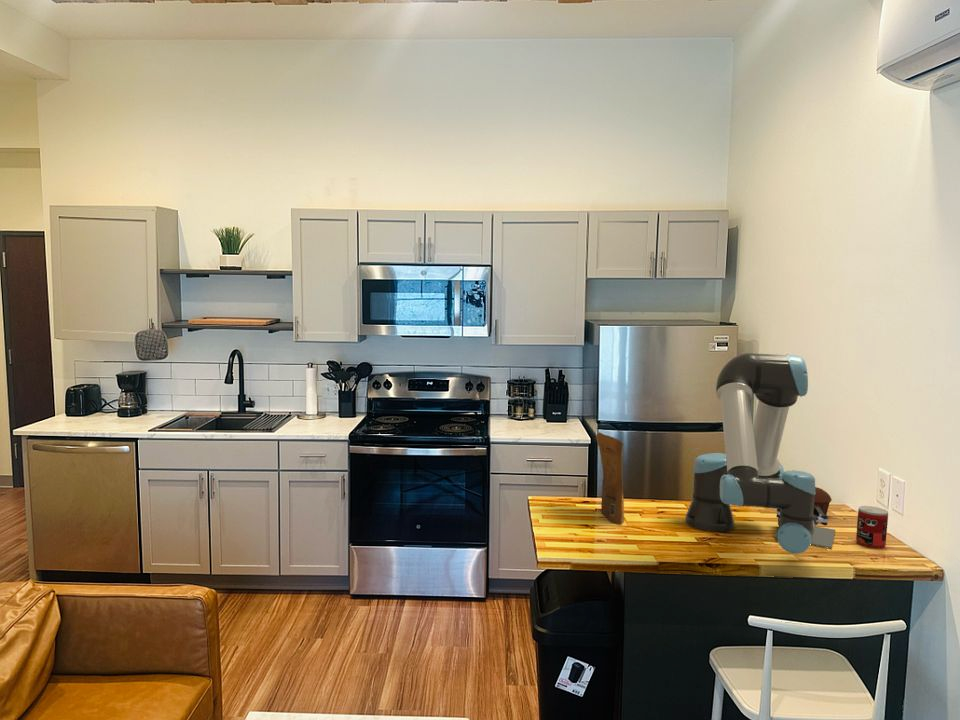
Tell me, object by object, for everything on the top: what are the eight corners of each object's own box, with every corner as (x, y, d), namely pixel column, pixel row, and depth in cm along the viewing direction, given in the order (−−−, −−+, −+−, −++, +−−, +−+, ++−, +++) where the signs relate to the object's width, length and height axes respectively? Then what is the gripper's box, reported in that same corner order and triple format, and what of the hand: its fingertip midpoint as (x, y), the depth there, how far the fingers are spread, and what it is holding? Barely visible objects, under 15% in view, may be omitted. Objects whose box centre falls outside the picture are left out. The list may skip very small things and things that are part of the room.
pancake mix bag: (609, 526, 216) (613, 441, 213) (591, 508, 235) (595, 430, 232) (629, 526, 217) (633, 441, 214) (610, 508, 236) (613, 430, 233)
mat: (774, 538, 209) (774, 536, 209) (781, 522, 225) (781, 520, 225) (831, 549, 201) (831, 547, 201) (835, 531, 217) (835, 529, 217)
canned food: (850, 540, 209) (852, 505, 208) (874, 539, 210) (877, 505, 209) (866, 549, 202) (869, 513, 201) (891, 548, 202) (894, 513, 201)
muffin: (794, 518, 230) (796, 489, 229) (791, 509, 240) (793, 482, 239) (832, 523, 226) (835, 494, 225) (828, 513, 236) (830, 485, 235)
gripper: (771, 532, 180) (781, 510, 200) (825, 542, 173) (830, 518, 194) (773, 505, 179) (783, 486, 200) (827, 514, 173) (832, 493, 193)
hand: (806, 502), depth 197 cm, fingers closed
